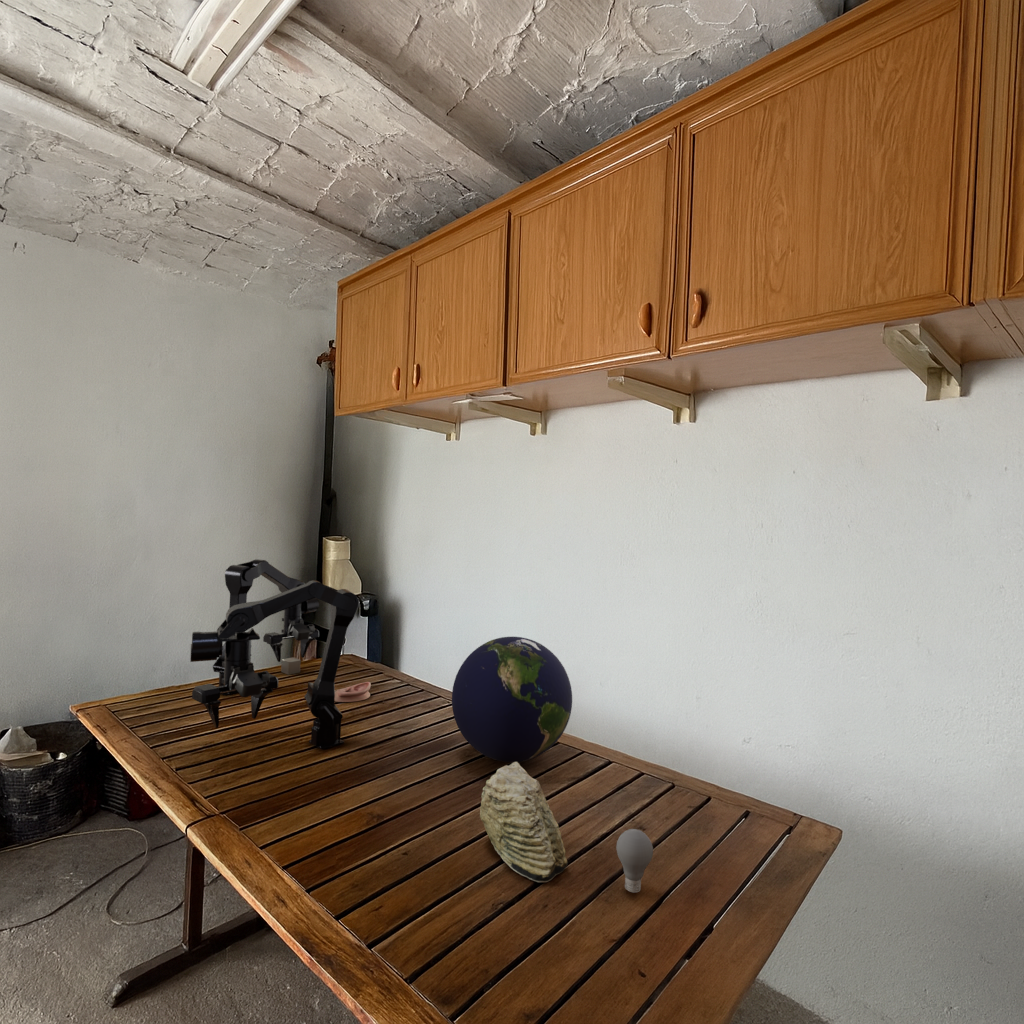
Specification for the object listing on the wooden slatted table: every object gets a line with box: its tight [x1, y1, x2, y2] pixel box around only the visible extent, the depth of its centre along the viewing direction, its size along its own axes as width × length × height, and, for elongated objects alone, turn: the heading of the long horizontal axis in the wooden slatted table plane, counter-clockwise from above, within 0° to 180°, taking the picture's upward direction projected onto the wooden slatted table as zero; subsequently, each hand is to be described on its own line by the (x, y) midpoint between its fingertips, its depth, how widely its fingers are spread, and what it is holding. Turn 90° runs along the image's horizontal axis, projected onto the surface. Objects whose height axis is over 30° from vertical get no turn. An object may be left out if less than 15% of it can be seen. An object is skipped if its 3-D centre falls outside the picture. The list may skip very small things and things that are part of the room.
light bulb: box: [615, 828, 654, 894], centre depth 106 cm, size 6×6×10 cm
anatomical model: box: [334, 681, 372, 703], centre depth 200 cm, size 13×4×12 cm
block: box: [280, 656, 302, 676], centre depth 224 cm, size 5×5×4 cm
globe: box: [451, 636, 573, 763], centre depth 158 cm, size 30×30×30 cm
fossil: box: [479, 762, 569, 883], centre depth 114 cm, size 9×18×15 cm, turn 46°
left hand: (291, 659), depth 224 cm, fingers open, 9 cm apart
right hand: (235, 722), depth 152 cm, fingers open, 9 cm apart
